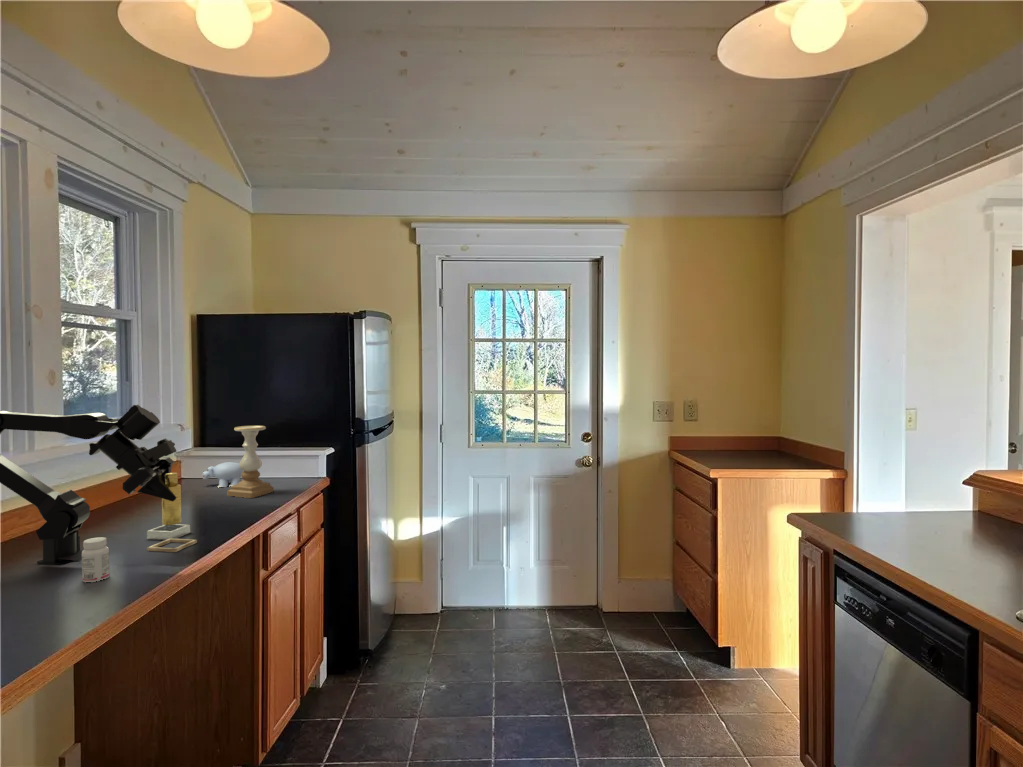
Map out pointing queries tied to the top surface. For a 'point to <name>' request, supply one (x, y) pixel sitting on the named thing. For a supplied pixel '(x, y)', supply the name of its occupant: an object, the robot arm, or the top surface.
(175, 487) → the gold bottle
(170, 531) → the socket
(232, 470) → the hippopotamus toy
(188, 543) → the tan flat square frame
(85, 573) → the pill bottle
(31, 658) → the top surface
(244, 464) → the candle holder
